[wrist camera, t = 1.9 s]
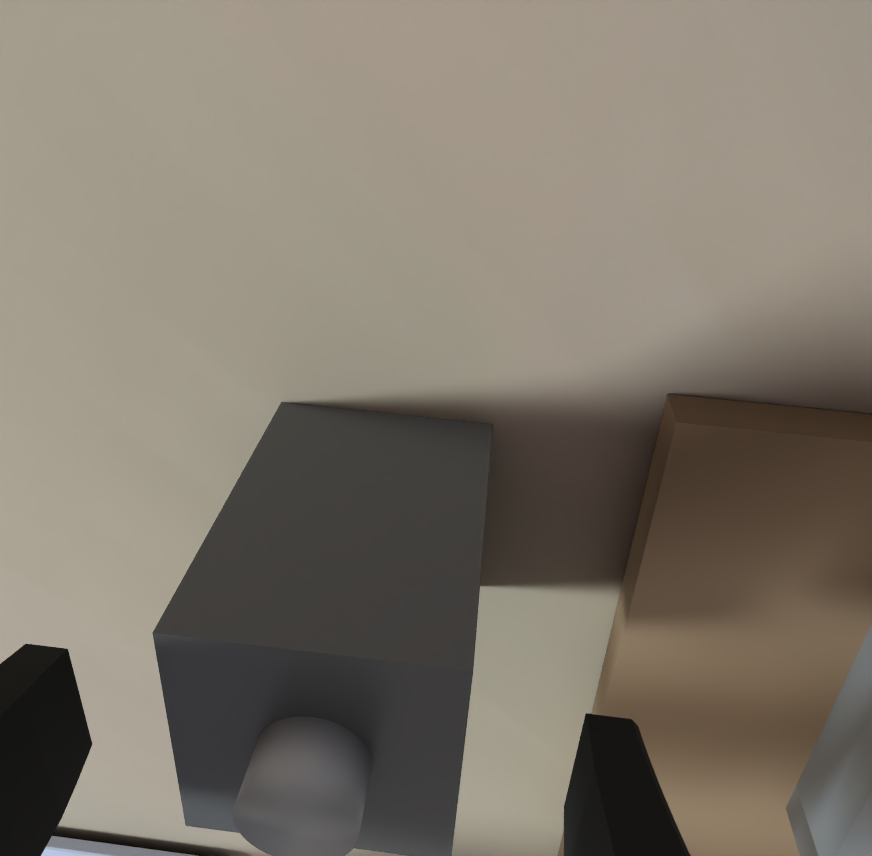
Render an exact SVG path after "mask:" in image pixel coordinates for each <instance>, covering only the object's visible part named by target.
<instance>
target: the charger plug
mask: <svg viewBox="0 0 872 856" xmlns="http://www.w3.org/2000/svg"><path fill="white" fill-rule="evenodd" d="M492 428H493V424H489V423H479V422H470V421H460V420H450V419H440V418H430V417H421V416H411V415H401V414H391V413H382V412H372V411H362V410H352V409H342V408H333V407H323V406H313V405H303V404H294V403H284V402H281V404H280V406H279V407H278V409H277V411H276V413H275V415H274V416H273V418H272V420H271V422H270V424H269V425H268V427H267V429H266V431H265V432H264V434H263V436H262V438H261V440H260V441H259V443H258V445H257V447H256V449H255V450H254V452H253V454H252V456H251V458H250V459H249V461H248V463H247V465H246V467H245V468H244V470H243V472H242V474H241V475H240V477H239V479H238V481H237V483H236V484H235V486H234V488H233V490H232V492H231V493H230V495H229V497H228V499H227V501H226V502H225V504H224V506H223V508H222V510H221V511H220V513H219V515H218V517H217V518H216V520H215V522H214V524H213V526H212V527H211V529H210V531H209V533H208V535H207V536H206V538H205V540H204V542H203V544H202V545H201V547H200V549H199V551H198V553H197V554H196V556H195V558H194V560H193V561H192V563H191V565H190V567H189V569H188V570H187V572H186V574H185V576H184V578H183V579H182V581H181V583H180V585H179V587H178V588H177V590H176V592H175V594H174V595H173V597H172V599H171V601H170V603H169V604H168V606H167V608H166V610H165V612H164V613H163V615H162V617H161V619H160V621H159V622H158V624H157V626H156V628H155V630H154V631H153V638H154V643H155V649H156V655H157V661H158V667H159V673H160V678H161V684H162V690H163V696H164V702H165V707H166V713H167V719H168V725H169V731H170V737H171V742H172V748H173V754H174V760H175V766H176V772H177V777H178V783H179V789H180V795H181V801H182V806H183V812H184V818H185V824H186V826H192V827H200V828H207V829H215V830H222V831H230V832H237V833H241V835H242V836H243V837H244V838H245V839H246V840H247V841H248V842H250V843H251V844H252V845H253V846H255V847H257V848H258V849H260V850H262V851H263V852H265V853H267V854H270V855H272V856H344V855H346V854H347V853H349V852H350V851H351V850H352V849H353V848H357V849H364V850H372V851H379V852H386V853H394V854H401V855H409V856H451V854H452V845H453V837H454V829H455V820H456V812H457V803H458V795H459V786H460V778H461V769H462V761H463V752H464V744H465V735H466V727H467V718H468V710H469V701H470V693H471V684H472V676H473V666H474V653H475V640H476V628H477V615H478V603H479V590H480V578H481V565H482V553H483V540H484V528H485V515H486V503H487V490H488V478H489V465H490V453H491V440H492Z"/></svg>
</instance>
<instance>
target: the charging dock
mask: <svg viewBox="0 0 872 856" xmlns="http://www.w3.org/2000/svg"><path fill="white" fill-rule="evenodd" d="M592 714H595V715H603V716H611V717H619V718H627V719H632V720H633V721H634V722H635V723H636V724H637V725H638V727H639V730H640V733H641V736H642V739H643V742H644V745H645V747H646V750H647V753H648V756H649V758H650V761H651V764H652V766H653V769H654V771H655V774H656V777H657V779H658V782H659V784H660V787H661V789H662V791H663V794H664V796H665V799H666V801H667V803H668V806H669V808H670V810H671V813H672V815H673V817H674V820H675V822H676V824H677V827H678V829H679V831H680V833H681V836H682V838H683V840H684V842H685V845H686V847H687V849H688V851H689V853H690V855H691V856H872V414H864V413H854V412H844V411H834V410H824V409H814V408H804V407H793V406H783V405H773V404H763V403H753V402H743V401H733V400H723V399H713V398H702V397H692V396H682V395H672V394H667V398H666V402H665V406H664V411H663V415H662V419H661V423H660V428H659V432H658V436H657V440H656V444H655V449H654V453H653V457H652V461H651V465H650V470H649V474H648V478H647V482H646V487H645V491H644V495H643V499H642V503H641V508H640V512H639V516H638V520H637V525H636V529H635V533H634V537H633V541H632V546H631V550H630V554H629V558H628V562H627V567H626V571H625V575H624V579H623V584H622V588H621V592H620V596H619V600H618V605H617V609H616V613H615V617H614V621H613V626H612V630H611V634H610V638H609V643H608V647H607V651H606V655H605V659H604V664H603V668H602V672H601V676H600V681H599V685H598V689H597V693H596V697H595V702H594V706H593V710H592ZM558 856H564V832H563V837H562V841H561V845H560V849H559V853H558Z"/></svg>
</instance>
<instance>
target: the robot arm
mask: <svg viewBox="0 0 872 856" xmlns="http://www.w3.org/2000/svg"><path fill="white" fill-rule="evenodd" d="M91 746H92V741H91V737H90V734H89V730H88V726H87V722H86V718H85V714H84V710H83V706H82V703H81V699H80V695H79V691H78V687H77V683H76V679H75V675H74V671H73V668H72V664H71V660H70V656H69V652H68V649H64V648H56V647H48V646H40V645H32V644H25V645H24V646H23V647H21V648H20V649H19V650H17V651H16V652H15V653H14V654H12V655H11V656H10V657H9V658H7V659H6V660H5V661H3V662H2V663H1V664H0V856H197V855H190V854H183V853H175V852H168V851H161V850H153V849H146V848H139V847H131V846H124V845H117V844H109V843H102V842H95V841H87V840H80V839H73V838H65V837H58V836H52V835H53V833H54V831H55V829H56V827H57V825H58V824H59V822H60V820H61V818H62V816H63V814H64V811H65V809H66V807H67V804H68V802H69V800H70V797H71V795H72V793H73V790H74V788H75V786H76V784H77V781H78V779H79V776H80V774H81V771H82V769H83V766H84V764H85V761H86V759H87V756H88V754H89V751H90V749H91ZM564 856H691V855H690V853H689V851H688V849H687V847H686V845H685V842H684V840H683V838H682V836H681V833H680V831H679V829H678V827H677V824H676V822H675V820H674V817H673V815H672V813H671V810H670V808H669V806H668V803H667V801H666V799H665V796H664V794H663V791H662V789H661V787H660V784H659V782H658V779H657V777H656V774H655V771H654V769H653V766H652V764H651V761H650V758H649V756H648V753H647V750H646V747H645V745H644V742H643V739H642V736H641V733H640V730H639V727H638V725H637V724H636V723H635V722H634V721H633V720H632V719H627V718H619V717H611V716H603V715H595V714H587V713H586V715H585V719H584V724H583V728H582V732H581V736H580V741H579V745H578V749H577V754H576V758H575V762H574V766H573V771H572V775H571V779H570V784H569V788H568V792H567V796H566V801H565V805H564Z"/></svg>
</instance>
